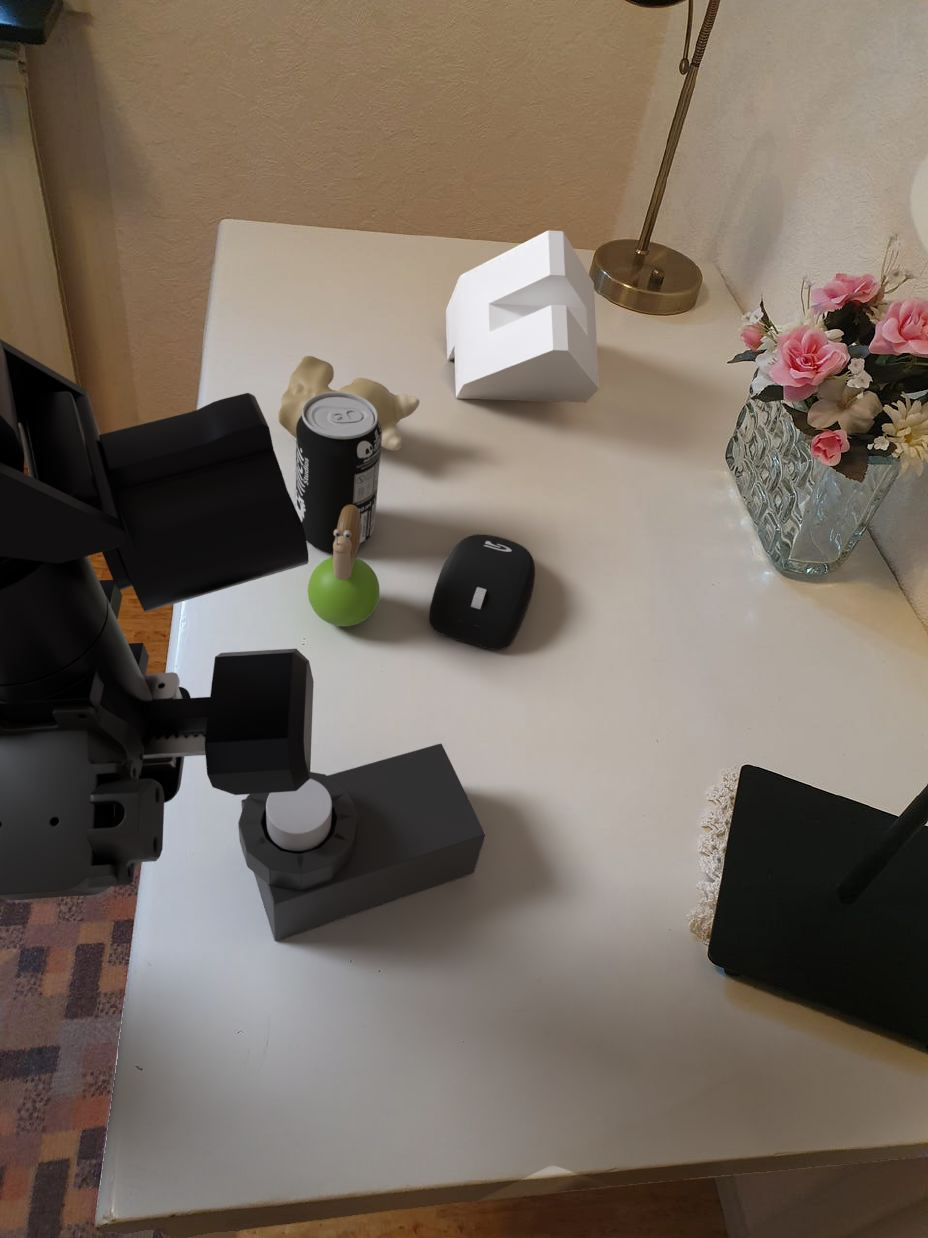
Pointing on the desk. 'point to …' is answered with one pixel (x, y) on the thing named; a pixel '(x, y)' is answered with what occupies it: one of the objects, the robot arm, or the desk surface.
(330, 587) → the snail figurine
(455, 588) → the computer mouse
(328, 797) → the gray round disc
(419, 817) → the push button base
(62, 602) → the robot arm
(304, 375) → the dinosaur figurine
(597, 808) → the desk surface
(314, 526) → the beverage can
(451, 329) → the slotted wedge
